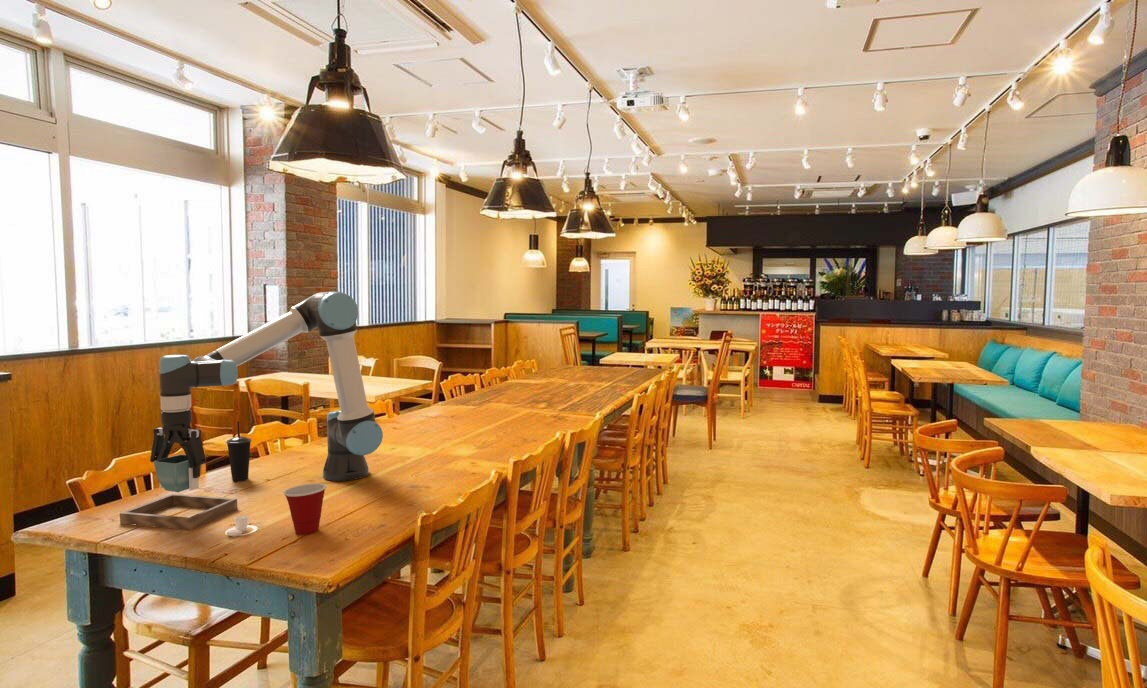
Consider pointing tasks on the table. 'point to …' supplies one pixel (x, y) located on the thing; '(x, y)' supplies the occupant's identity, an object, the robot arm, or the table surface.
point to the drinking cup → (239, 456)
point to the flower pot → (173, 472)
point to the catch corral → (144, 516)
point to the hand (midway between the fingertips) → (179, 487)
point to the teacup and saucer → (240, 527)
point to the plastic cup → (306, 506)
